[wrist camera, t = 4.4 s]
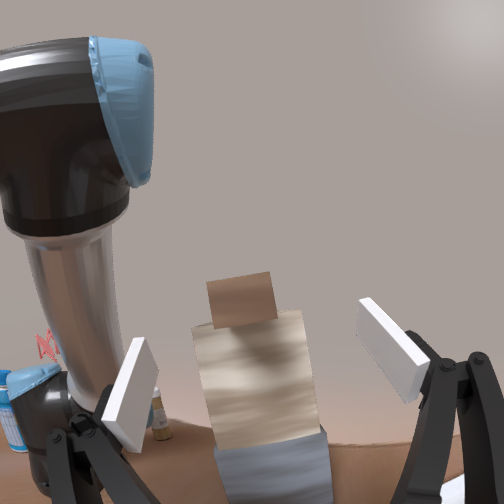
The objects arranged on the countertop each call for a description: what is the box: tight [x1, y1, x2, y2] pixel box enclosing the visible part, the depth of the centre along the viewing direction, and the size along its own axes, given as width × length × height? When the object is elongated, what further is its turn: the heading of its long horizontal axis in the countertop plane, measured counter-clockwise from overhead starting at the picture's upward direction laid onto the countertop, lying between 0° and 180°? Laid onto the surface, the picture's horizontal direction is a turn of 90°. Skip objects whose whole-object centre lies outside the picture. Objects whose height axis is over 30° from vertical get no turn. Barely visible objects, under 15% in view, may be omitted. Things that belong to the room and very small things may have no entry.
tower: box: [191, 309, 334, 504], centre depth 32 cm, size 19×12×28 cm, turn 1°
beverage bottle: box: [0, 370, 28, 453], centre depth 35 cm, size 8×8×20 cm
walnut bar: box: [206, 272, 278, 329], centre depth 31 cm, size 28×4×3 cm, turn 1°
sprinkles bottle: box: [151, 387, 171, 440], centre depth 54 cm, size 5×5×13 cm
